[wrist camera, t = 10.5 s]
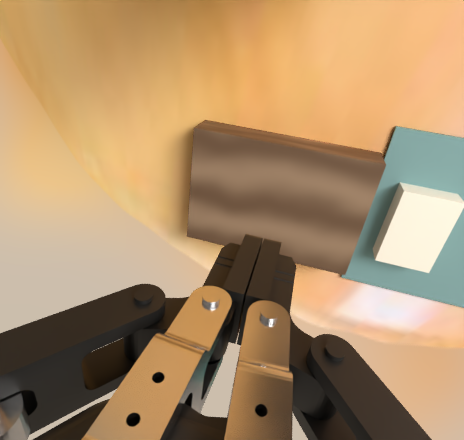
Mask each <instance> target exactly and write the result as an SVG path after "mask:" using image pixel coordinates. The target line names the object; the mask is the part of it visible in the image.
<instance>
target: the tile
mask: <svg viewBox="0 0 464 440" xmlns="http://www.w3.org/2000/svg"><path fill="white" fill-rule="evenodd" d="M463 208H464V201H463V200H462V198H461V197H460V196H459V195H458V194H455V193H450V192H445V191H440V190H435V189H431V188H426V187H421V186H416V185H411V184H406V183H401V182H400V183H399V185H398V188H397V190H396V193H395V195H394V198H393V200H392V203H391V205H390V207H389V210H388V212H387V215H386V217H385V220H384V222H383V225H382V227H381V230H380V232H379V234H378V237H377V239H376V242H375V244H374V247H373V253H374V258H375V260H376V261H380V262H384V263H389V264H393V265H397V266H401V267H405V268H409V269H414V270H418V271H422V272H426V273H429V272H430V270H431V268H432V266H433V264H434V263H435V261H436V259H437V257H438V255H439V253H440V251H441V250H442V248H443V246H444V244H445V242H446V240H447V238H448V236H449V235H450V233H451V231H452V229H453V227H454V225H455V223H456V221H457V220H458V218H459V216H460V214H461V212H462V210H463Z"/></svg>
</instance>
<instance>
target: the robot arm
mask: <svg viewBox="0 0 464 440" xmlns="http://www.w3.org/2000/svg"><path fill="white" fill-rule="evenodd" d="M262 242H263V244H262ZM281 243H282V242H279V241H274V240H270V239H266V238H264V241H263V238H262V237H257V236H253V235H249V234H245V236H244V239H243V241H242V243H241V245H239V244H235V243H231V242H230V243H229V244H227V245H226V246H224V247H223V248H222V249H221V251H220V253H219V255H218V257H217V259H216V261H215V264H214V265H213V267H212V269H211V271H210V273H209V275H208V277H207V279H206V281H205V283H204V285H203V287H200V288H198V289H196V290H195V291H193V293H192V294H191V295H190V297H186V298H165V294H164V292H163V291H162V290H161V289H160V288H159V287H157V286H155V285H151V284H140V285H135V286H132V287H129V288H126V289H124V290H121V291H119V292H115V293H112V294H110V295H107V296H104V297H101V298H98V299H96V300H93V301H90V302H87V303H84V304H82V305H79V306H76V307H73V308H70V309H68V310H65V311H62V312H59V313H56V314H53V315H51V316H48V317H45V318H42V319H39V320H37V321H34V322H31V323H28V324H25V325H23V326H20V327H17V328H14V329H11V330H9V331H6V332H3V333H0V440H27V439H28V437H29V435H30V434H32V433H34V432H35V431H37V430H39V429H41V428H43V427H45V426H47V425H49V424H50V423H53V422H54V421H56V420H58V419H60V418H62V417H64V416H66V415H67V414H70V413H72V412H73V411H75V410H77V409H79V408H81V407H83V406H85V405H87V404H89V403H91V402H92V401H94V400H96V399H98V398H100V397H102V396H104V395H106V394H108V393H109V392H112V391H113V390H115V389H117V390H116V391H115V393H114V394H113V396H112V397H111V399H108V400H105V401H102V402H100V403H97V404H95V405H93V406H91V407H89V408H88V409H86V410H84V411H82V412H81V413H79V414H77V415H75V416H73V417H72V418H70V419H68V420H67V421H65V422H63V423H61V424H59V425H58V426H56V427H54V428H52V429H51V430H49V431H47V432H46V433H44V434H42V435H40V436H38V437H37V438H35V439H33V440H292V411H293V413H294V415H295V417H296V419H297V421H298V422H299V424H300V426H301V427H302V429H303V431H304V433H305V435H306V436H307V438H308V440H432V439H431V438H430V437H429V436H428V435H427V434H426V433H425V431H424V430H423V429H422V428H421V427H420V425H419V424H418V423H417V422H416V421H415V420H414V418H413V417H412V416H411V415H410V414H409V412H408V411H407V410H406V409H405V408H404V407H403V405H402V404H401V403H400V402H399V401H398V400H397V399H396V397H395V396H394V395H393V394H392V393H391V391H390V390H389V389H388V388H387V387H386V386H385V384H384V383H383V382H382V381H381V380H380V379H379V377H378V376H377V375H376V374H375V373H374V371H373V370H372V369H371V368H370V367H369V366H368V365H367V363H366V362H365V361H364V360H363V359H362V357H361V356H360V355H359V354H358V353H357V352H356V350H355V349H354V348H353V347H352V346H351V345H350V344H349V343H348V342H347V341H345V340H343V339H342V338H340V337H338V336H335V335H330V334H323V335H319V336H317V337H315V338H313V337H311V336H309V335H308V334H306V333H304V332H303V331H301V330H300V329H299V328H298V327H297V326H296V325H295V324H294V323H293V321H292V319H291V316H290V306H291V299H292V292H293V285H294V278H295V271H296V265H295V263H294V261H293V259H292V257H288V256H284V255H280V254H279V252H280V248H281ZM239 329H240V331H239ZM238 333H239V337H238V341H237V344H238V345H241V347H240V352H239V357H238V362H237V368H236V373H235V378H234V383H233V389H232V395H231V400H230V405H229V411H228V415H227V418H223V417H221V418H220V417H207V416H204V415H202V414H200V413H201V410H202V407H203V405H204V403H205V400H206V398H207V395H208V393H209V391H210V388H211V386H212V384H213V381H214V379H215V377H216V374H217V372H218V370H219V367H220V365H221V363H222V360H223V355H224V354H225V351H226V349H227V346H228V342H231V343H235V342H236V339H237V336H238ZM121 338H122V339H121ZM119 339H120V340H119ZM116 340H117V341H116ZM114 341H115V342H114ZM112 342H113V343H112ZM109 343H111V344H109ZM107 344H108V345H107ZM105 345H106V346H105ZM103 346H104V347H103ZM100 347H102V348H100ZM98 348H99V349H98ZM96 349H97V350H96ZM94 350H95V351H94ZM92 351H93V352H92Z"/></svg>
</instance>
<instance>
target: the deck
mask: <svg viewBox="0 0 464 440" xmlns="http://www.w3.org/2000/svg"><path fill="white" fill-rule="evenodd" d="M385 167H386V163H385V161H384V159H383V156H382V154H381V153H379V152H373V151H368V150H363V149H357V148H352V147H347V146H341V145H336V144H331V143H325V142H320V141H315V140H309V139H304V138H299V137H293V136H288V135H283V134H277V133H272V132H267V131H261V130H256V129H251V128H245V127H240V126H235V125H229V124H224V123H219V122H213V121H208V120H205V121H203V122H202V123H200V124H199V125H197V126H196V127H194V136H193V152H192V168H191V183H190V199H189V215H188V231H187V236H188V237H192V238H196V239H200V240H204V241H208V242H212V243H216V244H220V245H224V246H226V245H227V244H229V243H230V242H231V243H235V244H239V245H241V243H242V241H243V239H244V236H245V234H249V235H253V236H257V237H262V238H263V241H264V238H266V239H270V240H274V241H279V242H282V243H281V248H280V252H279V254H280V255H284V256H288V257H292V259H293V261H294V263H297V264H301V265H306V266H310V267H314V268H318V269H322V270H326V271H330V272H334V273H338V274H342V275H346V272H347V269H348V266H349V264H350V261H351V258H352V256H353V253H354V250H355V248H356V245H357V242H358V240H359V237H360V234H361V232H362V229H363V226H364V223H365V221H366V218H367V215H368V213H369V210H370V207H371V205H372V202H373V199H374V197H375V194H376V191H377V189H378V186H379V183H380V180H381V178H382V175H383V172H384V170H385ZM262 244H263V242H262Z"/></svg>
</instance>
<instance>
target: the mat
mask: <svg viewBox="0 0 464 440" xmlns="http://www.w3.org/2000/svg"><path fill="white" fill-rule="evenodd" d="M384 161H385V163H386V167H385V170H384V172H383V175H382V178H381V180H380V183H379V186H378V189H377V191H376V194H375V197H374V199H373V202H372V205H371V207H370V210H369V213H368V215H367V218H366V221H365V223H364V226H363V229H362V232H361V234H360V237H359V240H358V242H357V245H356V248H355V250H354V253H353V256H352V258H351V261H350V264H349V266H348V269H347V272H346V275H341V277H342V278H346V279H350V280H354V281H358V282H362V283H366V284H370V285H374V286H378V287H382V288H386V289H390V290H394V291H398V292H402V293H406V294H411V295H415V296H419V297H423V298H427V299H431V300H435V301H439V302H443V303H447V304H451V305H455V306H459V307H463V308H464V208H463V210H462V212H461V214H460V216H459V218H458V220H457V221H456V223H455V225H454V227H453V229H452V231H451V233H450V235H449V236H448V238H447V240H446V242H445V244H444V246H443V248H442V250H441V251H440V253H439V255H438V257H437V259H436V261H435V263H434V264H433V266H432V268H431V270H430V272H429V273H426V272H422V271H418V270H414V269H409V268H405V267H401V266H397V265H393V264H389V263H384V262H380V261H376V260H375V258H374V253H373V247H374V244H375V242H376V239H377V237H378V234H379V232H380V230H381V227H382V225H383V222H384V220H385V217H386V215H387V212H388V210H389V207H390V205H391V203H392V200H393V198H394V195H395V193H396V190H397V188H398V185H399V183H400V182H401V183H406V184H411V185H416V186H421V187H426V188H431V189H435V190H440V191H445V192H450V193H455V194H458V195H459V196H460V197H461V198H462V200H463V201H464V138H461V137H455V136H449V135H444V134H438V133H432V132H426V131H421V130H415V129H409V128H404V127H398V126H396V127H395V129H394V132H393V135H392V138H391V140H390V143H389V146H388V149H387V151H386V154H385V157H384Z"/></svg>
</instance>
